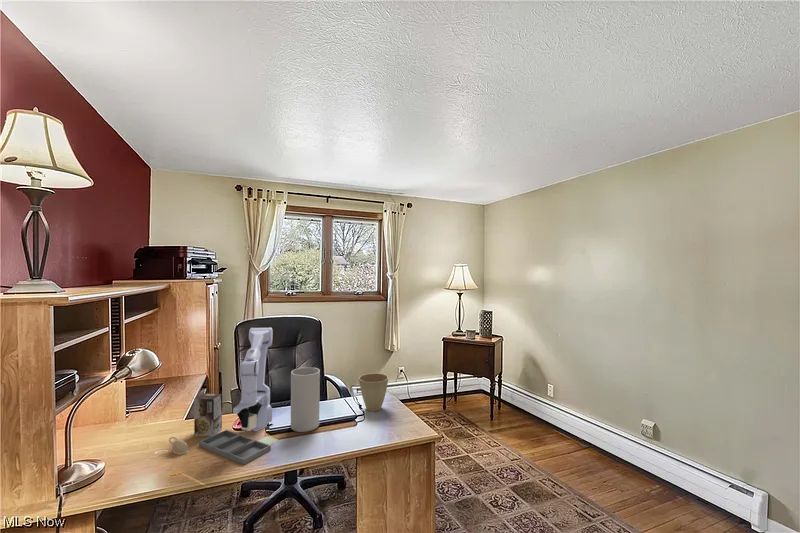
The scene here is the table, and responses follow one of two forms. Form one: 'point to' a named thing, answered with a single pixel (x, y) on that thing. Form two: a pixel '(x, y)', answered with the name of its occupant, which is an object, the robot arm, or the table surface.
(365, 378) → the plant pot
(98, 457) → the table surface
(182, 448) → the decorative ornament
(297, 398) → the cylinder vase
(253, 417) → the letter block
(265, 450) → the tray
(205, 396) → the coffee box
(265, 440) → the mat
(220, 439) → the tray
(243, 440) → the tray
